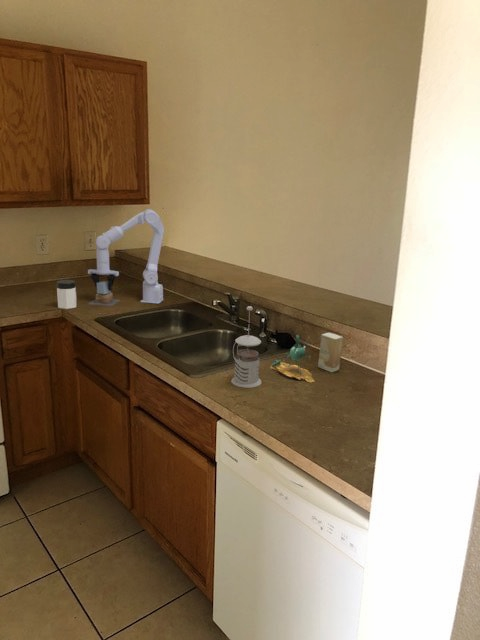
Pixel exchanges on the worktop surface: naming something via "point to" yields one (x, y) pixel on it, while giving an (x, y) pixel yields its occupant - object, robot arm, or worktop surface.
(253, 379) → the french press
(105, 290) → the blue cube
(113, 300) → the mat
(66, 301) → the jar
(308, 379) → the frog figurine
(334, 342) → the skincare box
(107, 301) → the tan cardboard box
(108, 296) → the slab upper
